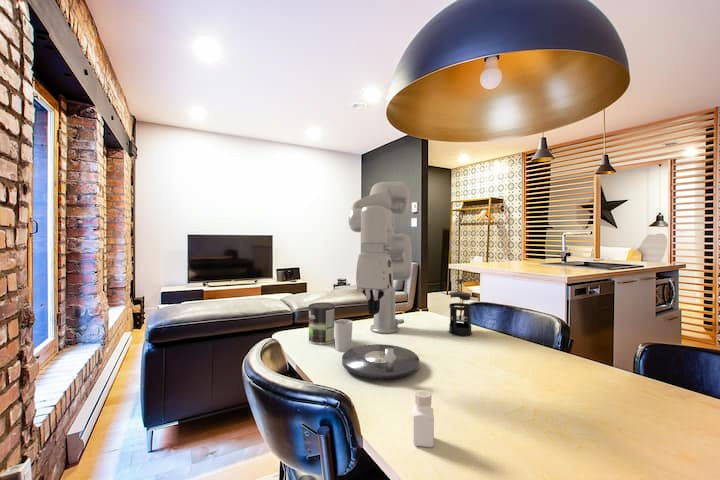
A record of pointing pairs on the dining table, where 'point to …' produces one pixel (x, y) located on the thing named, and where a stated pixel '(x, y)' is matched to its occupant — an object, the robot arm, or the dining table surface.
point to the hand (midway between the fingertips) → (373, 313)
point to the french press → (455, 327)
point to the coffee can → (321, 323)
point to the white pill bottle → (423, 420)
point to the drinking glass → (343, 335)
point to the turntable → (380, 361)
